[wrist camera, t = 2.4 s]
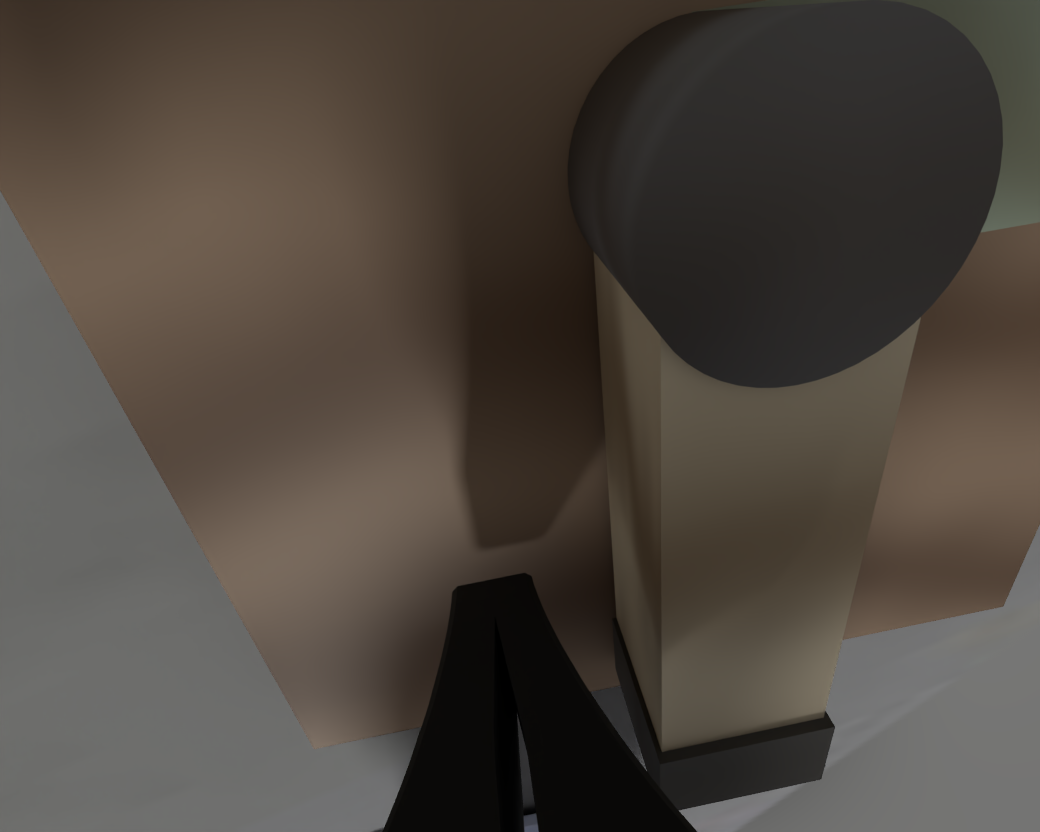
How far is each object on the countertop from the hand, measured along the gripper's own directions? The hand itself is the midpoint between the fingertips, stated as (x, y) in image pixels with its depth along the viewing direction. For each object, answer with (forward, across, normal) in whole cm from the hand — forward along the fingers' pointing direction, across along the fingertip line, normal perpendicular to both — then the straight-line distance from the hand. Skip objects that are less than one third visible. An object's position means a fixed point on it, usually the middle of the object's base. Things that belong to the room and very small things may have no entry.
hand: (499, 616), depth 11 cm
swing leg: (+1, -4, -2) cm, 5 cm away
